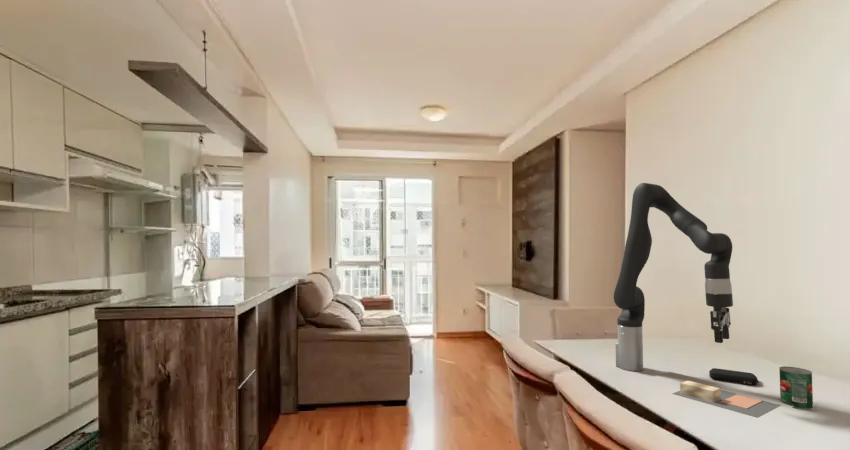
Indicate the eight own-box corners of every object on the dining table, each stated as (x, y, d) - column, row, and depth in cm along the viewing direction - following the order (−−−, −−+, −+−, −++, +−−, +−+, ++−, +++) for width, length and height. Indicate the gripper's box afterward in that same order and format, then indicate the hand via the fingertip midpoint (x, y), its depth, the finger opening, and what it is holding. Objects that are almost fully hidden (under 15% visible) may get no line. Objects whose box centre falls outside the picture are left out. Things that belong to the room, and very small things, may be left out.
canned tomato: (773, 400, 140) (772, 366, 141) (798, 400, 140) (797, 366, 141) (793, 409, 132) (792, 373, 133) (820, 410, 132) (819, 373, 133)
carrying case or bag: (709, 381, 161) (759, 388, 153) (709, 373, 161) (759, 380, 153) (709, 374, 170) (756, 380, 162) (709, 366, 170) (756, 372, 162)
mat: (671, 395, 145) (671, 393, 145) (698, 385, 155) (698, 383, 155) (757, 419, 125) (757, 416, 125) (781, 407, 135) (781, 404, 135)
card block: (680, 393, 145) (680, 382, 145) (687, 390, 148) (687, 380, 148) (713, 402, 136) (713, 391, 137) (720, 399, 139) (720, 388, 139)
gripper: (711, 290, 155) (714, 336, 153) (699, 293, 145) (703, 342, 144) (736, 291, 149) (740, 339, 148) (726, 293, 139) (730, 345, 138)
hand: (722, 340), depth 146 cm, fingers open, 8 cm apart
